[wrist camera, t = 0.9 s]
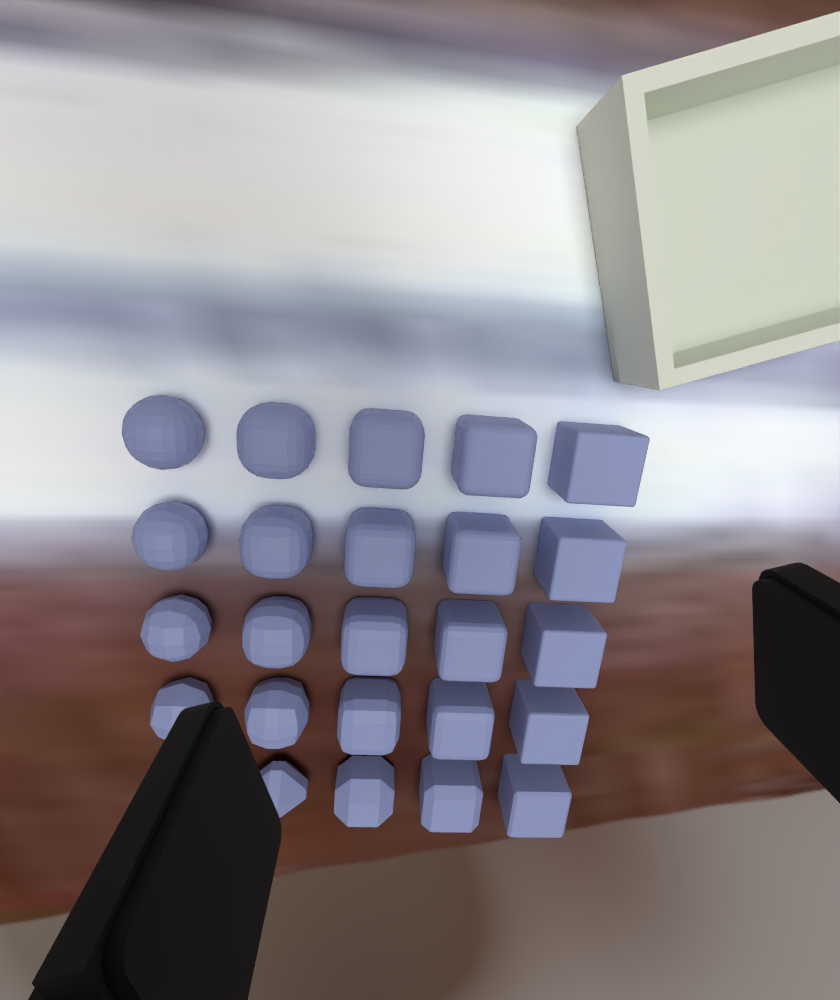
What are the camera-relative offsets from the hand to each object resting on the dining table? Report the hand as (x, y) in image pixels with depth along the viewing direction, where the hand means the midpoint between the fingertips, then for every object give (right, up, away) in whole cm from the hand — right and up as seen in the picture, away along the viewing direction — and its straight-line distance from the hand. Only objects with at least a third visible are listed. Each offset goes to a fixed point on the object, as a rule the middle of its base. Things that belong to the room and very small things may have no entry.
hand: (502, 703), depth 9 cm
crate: (+20, +22, +25) cm, 39 cm away
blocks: (-5, -6, +33) cm, 34 cm away
